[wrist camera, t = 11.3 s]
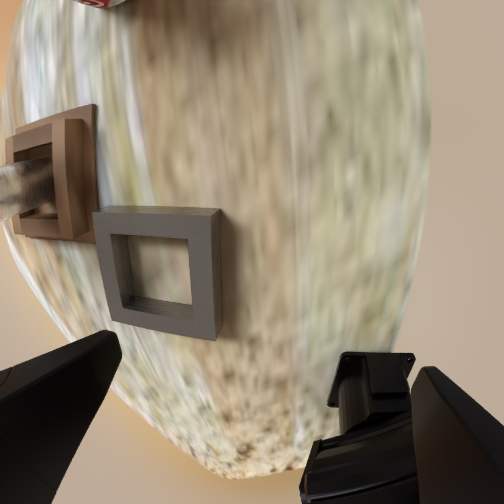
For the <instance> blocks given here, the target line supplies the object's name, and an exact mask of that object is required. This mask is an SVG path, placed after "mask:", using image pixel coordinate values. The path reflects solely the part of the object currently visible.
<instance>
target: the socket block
mask: <svg viewBox="0 0 504 504" xmlns="http://www.w3.org/2000/svg"><path fill="white" fill-rule="evenodd" d="M92 218H93V226H94V233H95V240H96V246H97V253H98V259H99V264H100V270H101V275H102V280H103V285H104V289H105V294H106V299H107V303H108V307H109V311H110V315H111V319H112V321H116V322H120V323H124V324H128V325H133V326H137V327H142V328H146V329H151V330H156V331H161V332H166V333H171V334H176V335H182V336H187V337H193V338H199V339H205V340H211V341H216V339H217V337H218V335H219V333H220V331H221V328H222V326H223V318H222V287H221V243H220V209H218V208H194V207H163V206H106V207H103V208H101V209H98V210H96V211H93V212H92ZM126 235H141V236H155V237H169V238H183V239H188V251H189V266H190V280H191V293H192V304H193V305H188V304H181V303H174V302H168V301H162V300H155V299H149V298H143V297H138V296H135V293H134V287H133V281H132V275H131V268H130V261H129V254H128V246H127V238H126Z"/></svg>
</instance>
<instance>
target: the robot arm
mask: <svg viewBox="0 0 504 504" xmlns="http://www.w3.org/2000/svg"><path fill="white" fill-rule="evenodd" d="M346 357H348V359H344V358H346ZM410 358H411V359H410ZM121 359H122V350H121V347H120V344H119V340H118V337H117V334H116V333H115V332H112V331H109V330H102V331H99V332H97V333H94V334H92V335H89V336H87V337H85V338H82V339H80V340H77V341H75V342H72V343H70V344H67V345H65V346H63V347H60V348H58V349H55V350H53V351H50V352H48V353H46V354H43V355H40V356H38V357H35V358H33V359H30V360H28V361H25V362H23V363H20V364H18V365H15V366H13V367H10V368H7V369H5V370H2V371H0V504H51V503H52V501H53V499H54V497H55V495H56V491H57V490H58V488H59V486H60V484H61V481H62V479H63V477H64V475H65V473H66V471H67V469H68V467H69V465H70V462H71V461H72V459H73V457H74V455H75V453H76V451H77V449H78V447H79V445H80V443H81V441H82V439H83V437H84V435H85V434H86V432H87V430H88V428H89V426H90V424H91V422H92V420H93V419H94V417H95V415H96V413H97V411H98V409H99V407H100V406H101V404H102V402H103V400H104V398H105V396H106V394H107V392H108V389H109V387H110V385H111V382H112V380H113V378H114V375H115V373H116V371H117V368H118V366H119V364H120V362H121ZM408 359H409V360H408ZM415 360H416V359H415V356H414V354H413V353H368V352H344V353H342V354H341V355H340V358H339V362H338V366H337V369H336V373H335V377H334V380H333V384H332V387H331V390H330V394H329V397H328V400H327V405H328V406H329V407H337V408H339V425H340V435H339V436H336V437H332V438H328V439H325V440H321V439H320V440H317V441H314V442H313V445H312V448H311V452H310V455H309V458H308V461H307V464H306V467H305V470H304V473H303V476H302V479H301V482H300V485H299V490H300V497H301V501H302V504H504V426H503V425H502V424H501V423H500V422H499V421H498V420H497V419H495V418H494V417H493V416H492V415H491V414H490V413H489V412H488V411H486V410H485V409H484V408H483V407H482V406H481V405H480V404H478V403H477V402H476V401H475V400H474V399H473V398H472V397H470V396H469V395H468V394H467V393H466V392H465V391H463V390H462V389H461V388H460V387H459V386H458V385H456V384H455V383H454V382H453V381H452V380H451V379H449V378H448V377H447V376H446V375H445V374H443V373H442V372H441V371H440V370H439V369H438V368H436V367H434V366H427V367H422V368H421V370H420V371H419V373H418V375H417V378H416V380H415V381H414V383H413V385H412V388H411V395H410V391H409V390H410V388H409V385H408V382H407V378H408V376H409V373H410V371H411V369H412V367H413V365H414V362H415Z"/></svg>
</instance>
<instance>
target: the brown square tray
mask: <svg viewBox="0 0 504 504" xmlns="http://www.w3.org/2000/svg"><path fill="white" fill-rule="evenodd" d="M5 149H6V165H7V164H12V163H16V162H21V161H27V160H32V159H37V158H43V157H53V174H54V187H55V197H56V201H54V202H51V203H48V204H45V205H43V206H40V207H37V208H34V209H32V210H29V211H26V212H23V213H21V214H18V215H16V216H13V217H12V222H13V228H14V233H15V234H20V235H25V237H33V238H43V239H54V240H64V241H75V242H86V243H96V240H95V233H94V226H93V218H92V212H93V211H96V210H98V209H99V207H98V196H97V184H96V167H95V104H89V105H86V106H82V107H78V108H75V109H71V110H68V111H65V112H61V113H58V114H55V115H52V116H49V117H46V118H43V119H40V120H38V121H35V122H32V123H29V124H27V125H24V126H22V127H19V128H17V129H16V135H14V136H12V137H9V138H7V139H5Z"/></svg>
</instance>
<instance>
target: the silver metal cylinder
mask: <svg viewBox="0 0 504 504" xmlns="http://www.w3.org/2000/svg"><path fill="white" fill-rule="evenodd" d="M54 201H56V197H55V187H54V174H53V157H43V158H37V159H32V160H27V161H21V162H16V163H12V164H7V165H3V166H0V222H1V221H3V220H6V219H8V218H11V217H13V216H16V215H18V214H21V213H23V212H26V211H29V210H32V209H34V208H37V207H40V206H43V205H45V204H48V203H51V202H54Z"/></svg>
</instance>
